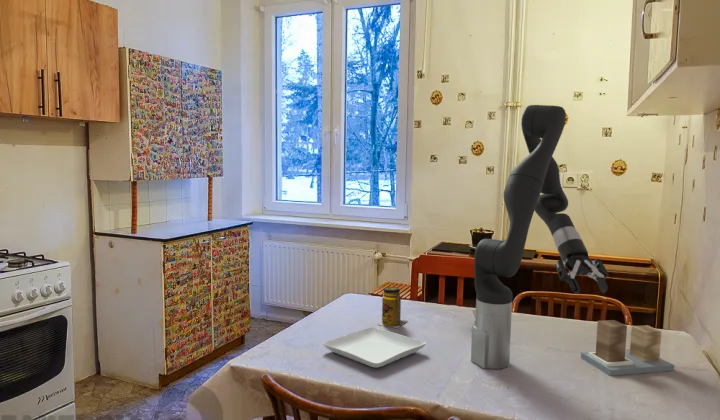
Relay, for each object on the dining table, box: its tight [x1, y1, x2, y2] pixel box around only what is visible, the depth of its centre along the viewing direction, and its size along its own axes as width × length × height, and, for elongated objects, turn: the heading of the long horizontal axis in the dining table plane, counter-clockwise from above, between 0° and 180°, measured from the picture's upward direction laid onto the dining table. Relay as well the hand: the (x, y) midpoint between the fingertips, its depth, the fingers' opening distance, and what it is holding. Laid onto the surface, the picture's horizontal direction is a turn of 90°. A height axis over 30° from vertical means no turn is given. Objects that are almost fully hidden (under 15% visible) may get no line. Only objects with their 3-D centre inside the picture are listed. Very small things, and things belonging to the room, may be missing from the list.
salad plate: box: [322, 326, 427, 368], centre depth 143 cm, size 21×21×3 cm
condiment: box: [377, 286, 408, 329], centre depth 169 cm, size 7×8×12 cm
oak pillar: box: [629, 324, 662, 362], centre depth 139 cm, size 5×5×8 cm
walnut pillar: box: [595, 319, 628, 362], centre depth 136 cm, size 5×5×10 cm
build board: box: [580, 348, 676, 377], centre depth 138 cm, size 19×12×2 cm, turn 101°
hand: (591, 292), depth 144 cm, fingers open, 8 cm apart
